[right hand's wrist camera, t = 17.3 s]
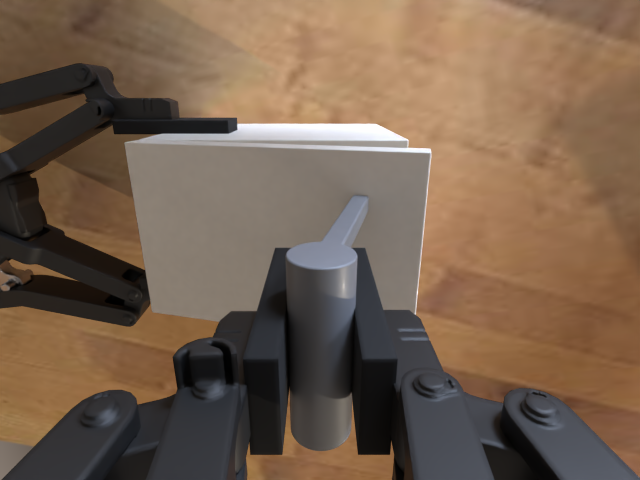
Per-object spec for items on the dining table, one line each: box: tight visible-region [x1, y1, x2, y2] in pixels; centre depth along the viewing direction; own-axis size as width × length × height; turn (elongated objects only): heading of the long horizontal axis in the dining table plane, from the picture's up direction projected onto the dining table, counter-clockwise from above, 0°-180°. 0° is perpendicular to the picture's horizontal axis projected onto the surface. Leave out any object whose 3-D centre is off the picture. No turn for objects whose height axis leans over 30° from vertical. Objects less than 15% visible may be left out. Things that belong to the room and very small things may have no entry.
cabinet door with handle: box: [124, 140, 431, 451], centre depth 15 cm, size 14×9×9 cm, turn 89°
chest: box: [140, 124, 409, 148], centre depth 27 cm, size 14×9×11 cm
